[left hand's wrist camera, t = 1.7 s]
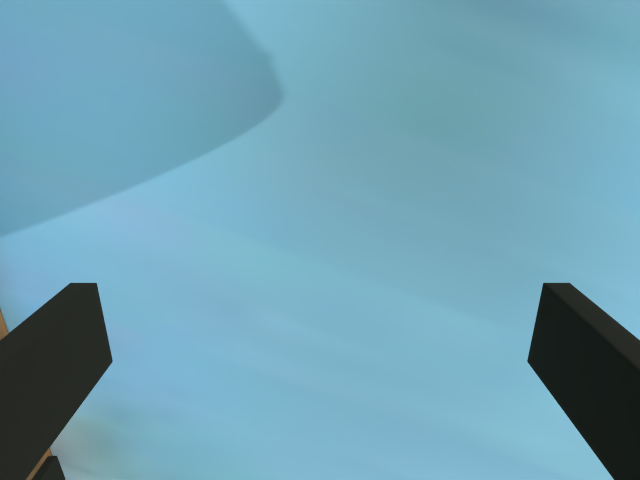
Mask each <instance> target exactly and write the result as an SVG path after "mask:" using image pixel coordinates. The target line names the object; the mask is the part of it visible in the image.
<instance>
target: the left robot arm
mask: <svg viewBox="0 0 640 480" xmlns="http://www.w3.org/2000/svg"><path fill="white" fill-rule="evenodd" d="M112 362H113V361H112V356H111V351H110V346H109V341H108V336H107V331H106V327H105V322H104V317H103V312H102V307H101V302H100V297H99V292H98V287H97V283H70V284H69V285H67V286H66V287H65V288H64V289H63V290H61V291H60V292H59V293H58V294H56V295H55V296H54V297H53V298H52V299H50V300H49V301H48V302H47V303H45V304H44V305H43V306H42V307H41V308H39V309H38V310H37V311H36V312H34V313H33V314H32V315H31V316H30V317H28V318H27V319H26V320H25V321H23V322H22V323H21V324H20V325H19V326H17V327H16V328H15V329H14V330H12V331H11V332H10V333H9V334H8V335H6V336H5V337H4V338H3V339H1V340H0V480H26V479H27V477H28V476H29V475H30V473H31V472H32V471H33V469H34V468H35V466H36V465H37V464H38V462H39V461H40V460H41V458H42V457H43V456H44V454H45V453H46V452H47V450H48V449H49V447H50V446H51V445H52V443H53V442H54V441H55V439H56V438H57V437H58V435H59V434H60V432H61V431H62V430H63V428H64V427H65V426H66V424H67V423H68V422H69V420H70V419H71V417H72V416H73V415H74V413H75V412H76V411H77V409H78V408H79V407H80V405H81V404H82V402H83V401H84V400H85V398H86V397H87V396H88V394H89V393H90V392H91V390H92V389H93V388H94V386H95V385H96V383H97V382H98V381H99V379H100V378H101V377H102V375H103V374H104V373H105V371H106V370H107V368H108V367H109V366H110V364H111V363H112ZM527 362H528V363H529V364H530V366H531V367H532V368H533V370H534V371H535V373H536V374H537V375H538V377H539V378H540V379H541V381H542V382H543V383H544V385H545V386H546V388H547V389H548V390H549V392H550V393H551V394H552V396H553V397H554V398H555V400H556V401H557V402H558V404H559V405H560V407H561V408H562V409H563V411H564V412H565V413H566V415H567V416H568V417H569V419H570V420H571V422H572V423H573V424H574V426H575V427H576V428H577V430H578V431H579V432H580V434H581V435H582V437H583V438H584V439H585V441H586V442H587V443H588V445H589V446H590V447H591V449H592V450H593V452H594V453H595V454H596V456H597V457H598V458H599V460H600V461H601V462H602V464H603V465H604V466H605V468H606V469H607V471H608V472H609V473H610V475H611V476H612V477H613V479H614V480H640V340H639V339H637V338H636V337H635V336H634V335H632V334H631V333H630V332H629V331H628V330H626V329H625V328H624V327H623V326H621V325H620V324H619V323H618V322H617V321H615V320H614V319H613V318H612V317H610V316H609V315H608V314H607V313H606V312H604V311H603V310H602V309H601V308H599V307H598V306H597V305H596V304H595V303H593V302H592V301H591V300H590V299H588V298H587V297H586V296H585V295H584V294H582V293H581V292H580V291H579V290H577V289H576V288H575V287H574V286H573V285H571V284H570V283H543V287H542V292H541V297H540V302H539V307H538V312H537V317H536V322H535V327H534V331H533V336H532V341H531V346H530V351H529V356H528V361H527Z"/></svg>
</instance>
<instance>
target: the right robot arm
mask: <svg viewBox="0 0 640 480" xmlns="http://www.w3.org/2000/svg"><path fill="white" fill-rule="evenodd" d="M31 480H65V477H64V474H63V471H62V469H61V466H60V463H59V460H58V458H57V456H48V457H47V458H46V460H45V461H44V462H43V464H42V465H41V467H40V468H39V469H38V471H37V472H36V474H35V475H34V477H33V478H32V479H31Z"/></svg>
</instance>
